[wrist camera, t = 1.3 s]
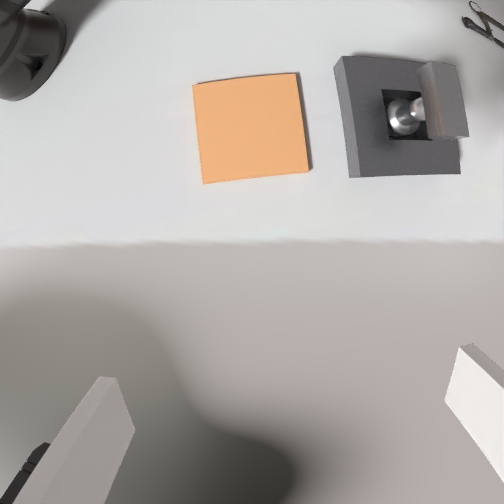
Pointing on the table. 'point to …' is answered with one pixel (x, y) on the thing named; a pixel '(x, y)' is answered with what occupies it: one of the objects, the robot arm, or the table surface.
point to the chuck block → (375, 124)
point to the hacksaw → (484, 17)
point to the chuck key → (431, 105)
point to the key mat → (249, 128)
